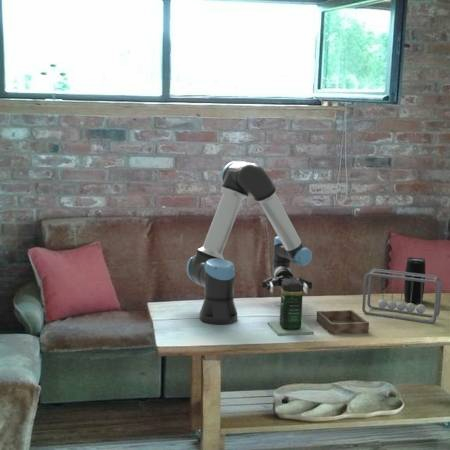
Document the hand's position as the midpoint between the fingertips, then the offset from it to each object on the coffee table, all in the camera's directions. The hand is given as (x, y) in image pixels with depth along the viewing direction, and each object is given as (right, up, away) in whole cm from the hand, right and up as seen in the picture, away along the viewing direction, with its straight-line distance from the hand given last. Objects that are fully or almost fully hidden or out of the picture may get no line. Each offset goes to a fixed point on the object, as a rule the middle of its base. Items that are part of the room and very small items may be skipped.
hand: (289, 289), depth 274 cm
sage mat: (0, -14, -6) cm, 16 cm away
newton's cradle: (+47, -12, +15) cm, 51 cm away
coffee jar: (0, -14, -7) cm, 15 cm away
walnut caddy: (+20, -14, -2) cm, 25 cm away
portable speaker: (+59, -9, +37) cm, 70 cm away
